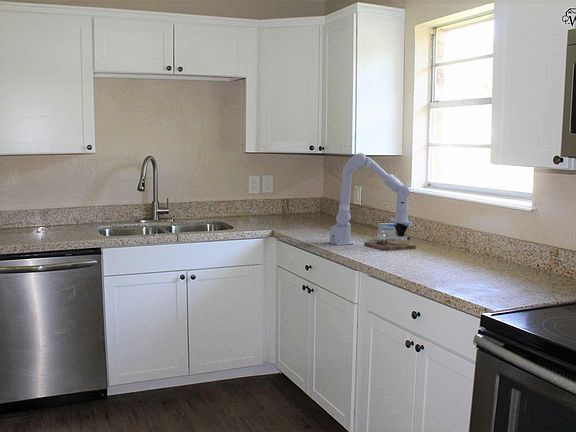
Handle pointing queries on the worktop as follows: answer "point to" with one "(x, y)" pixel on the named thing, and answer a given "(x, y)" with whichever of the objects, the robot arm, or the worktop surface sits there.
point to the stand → (390, 245)
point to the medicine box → (387, 229)
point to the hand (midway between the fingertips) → (400, 239)
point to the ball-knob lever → (383, 238)
